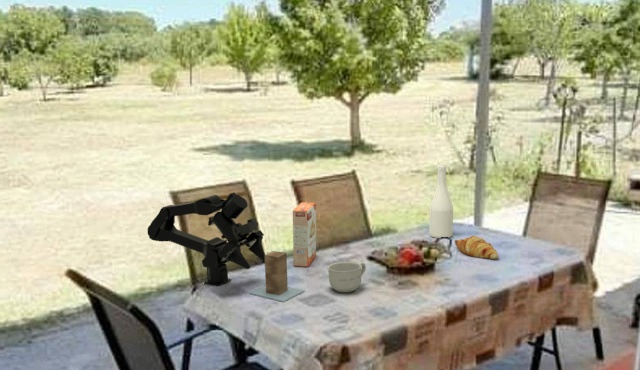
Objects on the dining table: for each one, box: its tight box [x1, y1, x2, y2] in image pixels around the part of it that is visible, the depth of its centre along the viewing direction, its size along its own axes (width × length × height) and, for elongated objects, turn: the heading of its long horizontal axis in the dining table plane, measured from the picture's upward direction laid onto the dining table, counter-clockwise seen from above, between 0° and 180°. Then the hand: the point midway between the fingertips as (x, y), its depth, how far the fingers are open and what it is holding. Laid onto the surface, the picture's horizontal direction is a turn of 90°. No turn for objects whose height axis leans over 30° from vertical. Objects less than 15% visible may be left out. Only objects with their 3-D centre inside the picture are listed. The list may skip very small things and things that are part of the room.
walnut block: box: [264, 250, 289, 295], centre depth 208 cm, size 5×5×12 cm
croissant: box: [454, 235, 499, 260], centre depth 245 cm, size 21×10×8 cm, turn 34°
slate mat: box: [248, 284, 306, 303], centre depth 209 cm, size 14×11×1 cm
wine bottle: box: [428, 163, 454, 239], centre depth 268 cm, size 10×10×30 cm
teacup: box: [327, 261, 367, 293], centre depth 211 cm, size 14×11×8 cm
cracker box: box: [292, 201, 317, 268], centre depth 239 cm, size 14×6×21 cm, turn 168°
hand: (257, 264), depth 211 cm, fingers open, 9 cm apart
